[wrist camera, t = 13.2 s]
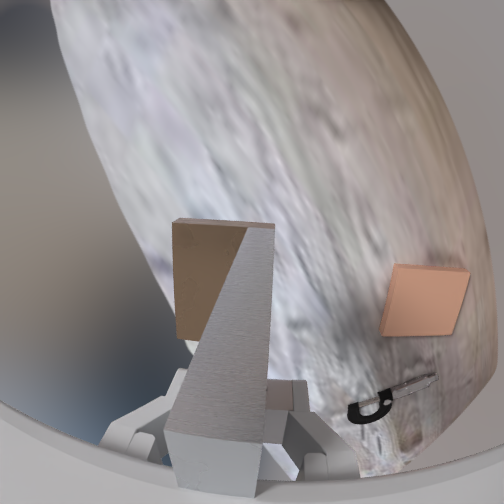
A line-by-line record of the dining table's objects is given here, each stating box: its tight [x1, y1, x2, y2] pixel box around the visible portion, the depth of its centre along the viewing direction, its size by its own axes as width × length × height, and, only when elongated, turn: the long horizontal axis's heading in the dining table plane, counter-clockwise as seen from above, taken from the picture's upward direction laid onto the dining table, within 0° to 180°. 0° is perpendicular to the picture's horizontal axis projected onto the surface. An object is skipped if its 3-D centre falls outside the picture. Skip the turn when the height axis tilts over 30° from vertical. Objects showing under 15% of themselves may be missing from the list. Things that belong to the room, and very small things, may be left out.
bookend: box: [163, 218, 275, 498], centre depth 13 cm, size 8×6×16 cm
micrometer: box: [347, 372, 439, 424], centre depth 38 cm, size 15×7×2 cm, turn 110°
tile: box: [379, 263, 470, 336], centre depth 33 cm, size 9×2×11 cm
